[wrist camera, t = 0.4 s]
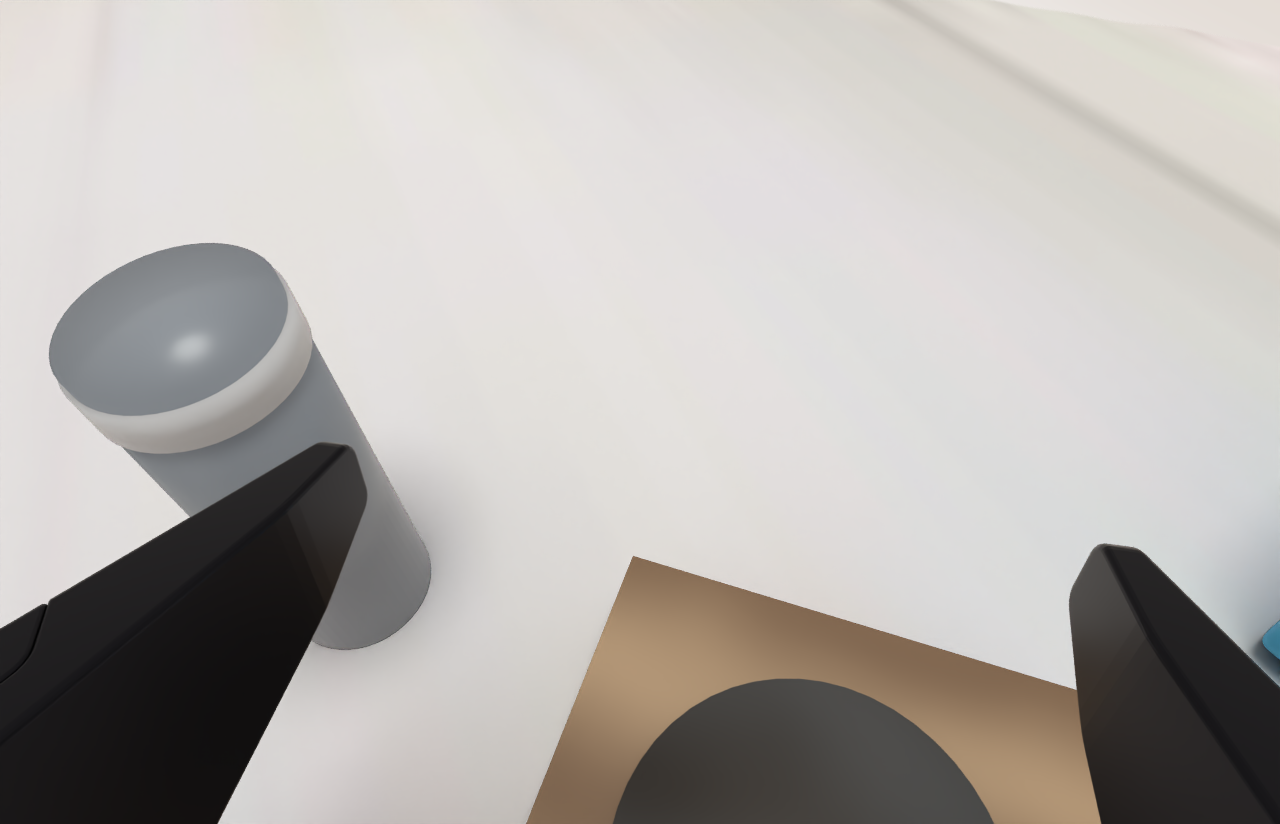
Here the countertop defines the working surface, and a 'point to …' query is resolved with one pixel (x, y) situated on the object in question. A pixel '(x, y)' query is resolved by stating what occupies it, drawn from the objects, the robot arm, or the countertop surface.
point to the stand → (801, 722)
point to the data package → (1273, 640)
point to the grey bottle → (232, 407)
